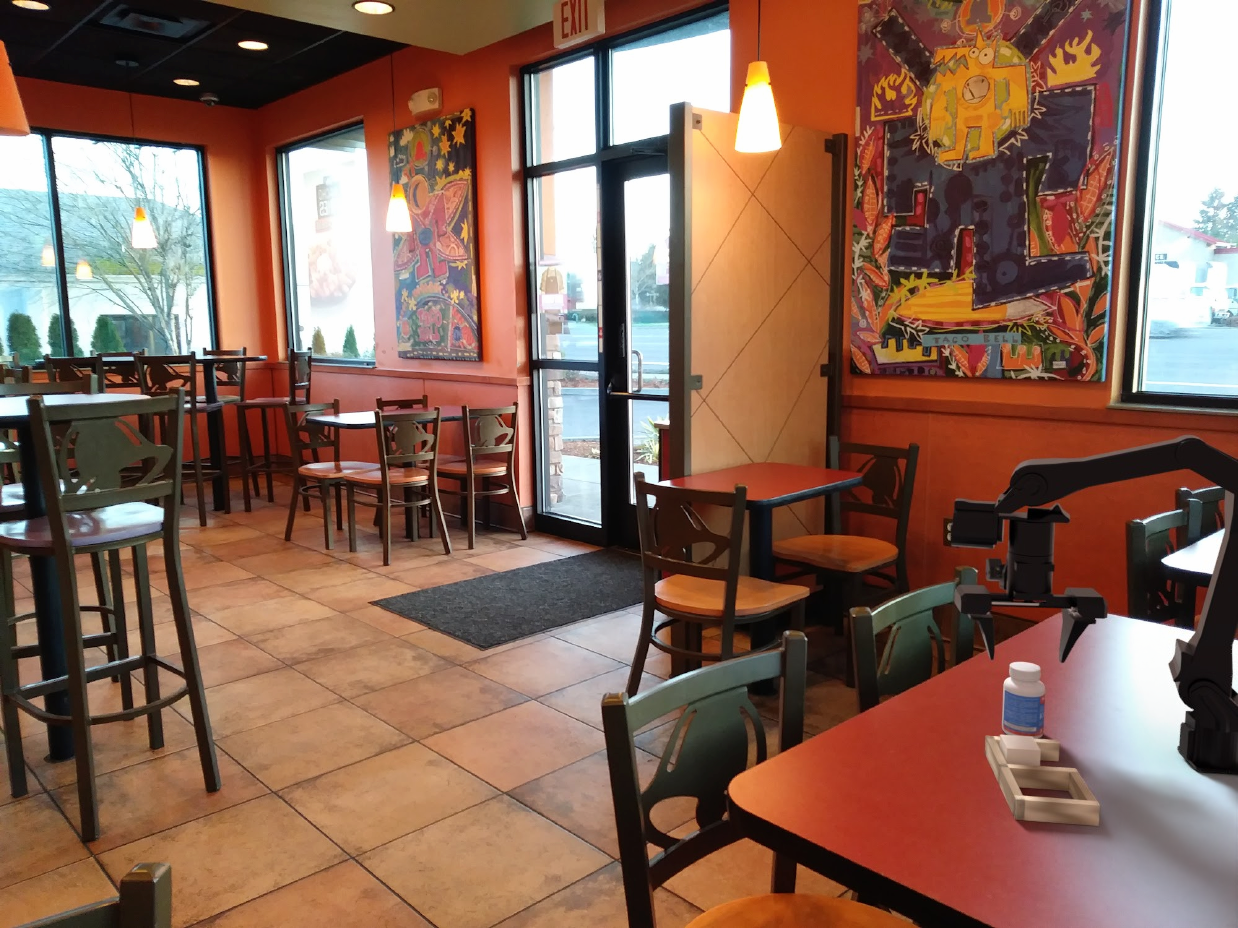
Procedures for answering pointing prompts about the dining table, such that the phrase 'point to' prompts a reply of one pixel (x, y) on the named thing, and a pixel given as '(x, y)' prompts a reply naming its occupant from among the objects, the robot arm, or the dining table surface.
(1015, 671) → the pill bottle
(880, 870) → the dining table surface
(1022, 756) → the cream block
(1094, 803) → the caddy
